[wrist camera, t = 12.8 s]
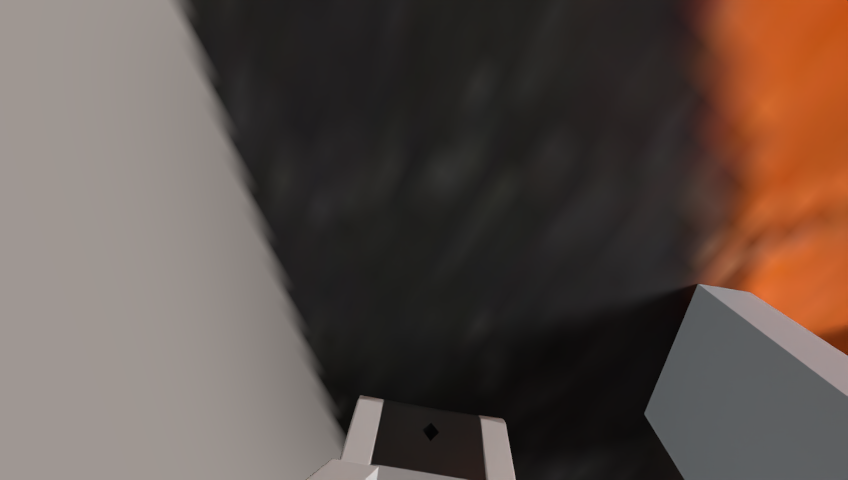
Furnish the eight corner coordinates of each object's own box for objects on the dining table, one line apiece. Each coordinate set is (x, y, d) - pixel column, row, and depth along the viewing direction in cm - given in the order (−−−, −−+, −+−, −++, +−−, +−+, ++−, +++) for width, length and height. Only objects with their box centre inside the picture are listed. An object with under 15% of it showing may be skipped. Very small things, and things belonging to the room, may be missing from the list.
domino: (643, 413, 14) (864, 772, 7) (698, 283, 13) (1071, 565, 5) (689, 421, 14) (963, 788, 7) (750, 291, 13) (1202, 586, 5)
